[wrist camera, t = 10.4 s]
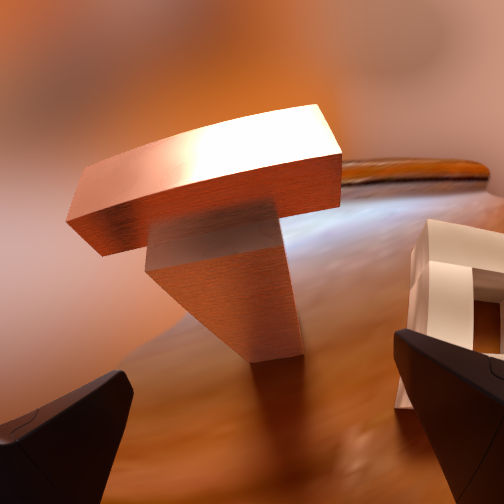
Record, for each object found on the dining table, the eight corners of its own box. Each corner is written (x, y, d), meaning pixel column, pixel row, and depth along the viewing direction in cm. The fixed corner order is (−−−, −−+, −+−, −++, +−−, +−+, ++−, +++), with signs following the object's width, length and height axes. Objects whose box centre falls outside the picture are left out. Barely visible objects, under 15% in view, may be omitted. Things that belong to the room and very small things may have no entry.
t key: (318, 300, 18) (309, 90, 6) (327, 350, 16) (354, 179, 5) (223, 316, 19) (91, 151, 7) (226, 365, 17) (58, 247, 5)
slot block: (521, 409, 10) (558, 401, 7) (394, 407, 13) (416, 406, 10) (522, 272, 15) (548, 244, 12) (411, 254, 18) (427, 218, 15)
